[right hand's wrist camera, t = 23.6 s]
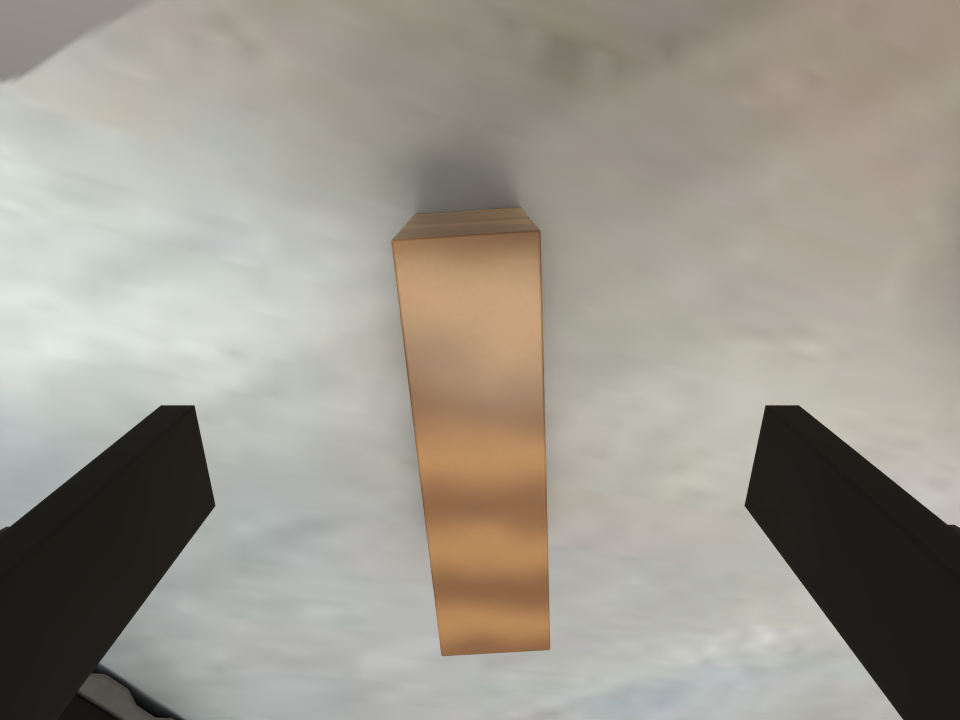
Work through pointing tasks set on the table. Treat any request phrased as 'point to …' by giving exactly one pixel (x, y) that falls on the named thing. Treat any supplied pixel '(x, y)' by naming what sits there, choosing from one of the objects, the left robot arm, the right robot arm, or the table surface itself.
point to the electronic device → (104, 702)
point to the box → (479, 421)
